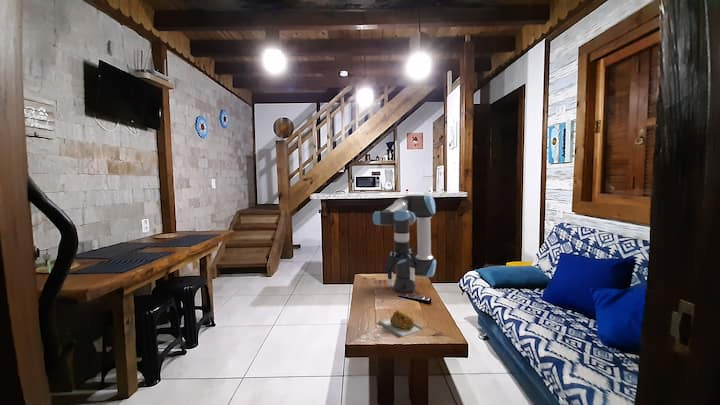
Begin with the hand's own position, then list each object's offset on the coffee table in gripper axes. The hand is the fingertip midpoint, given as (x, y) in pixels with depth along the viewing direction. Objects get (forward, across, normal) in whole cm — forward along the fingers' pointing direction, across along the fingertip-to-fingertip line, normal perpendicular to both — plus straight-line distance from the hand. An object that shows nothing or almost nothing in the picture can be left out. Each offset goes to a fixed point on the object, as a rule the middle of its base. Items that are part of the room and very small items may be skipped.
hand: (401, 282), depth 154 cm
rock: (+22, +2, +2) cm, 22 cm away
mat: (+22, +1, 0) cm, 23 cm away
